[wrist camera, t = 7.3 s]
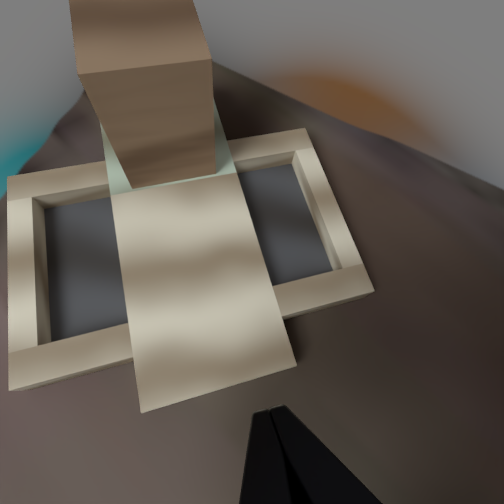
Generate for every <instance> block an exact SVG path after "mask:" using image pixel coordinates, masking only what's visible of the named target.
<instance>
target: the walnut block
mask: <svg viewBox="0 0 504 504" xmlns="http://www.w3.org/2000/svg"><path fill="white" fill-rule="evenodd" d="M69 4H70V13H71V22H72V30H73V39H74V47H75V56H76V65H77V73H78V76H79V78H80V81H81V83H82V85H83V87H84V89H85V91H86V93H87V95H88V97H89V99H90V102H91V104H92V106H93V108H94V110H95V112H96V114H97V116H98V118H99V120H100V123H101V125H102V127H103V129H104V131H105V133H106V135H107V137H108V139H109V141H110V144H111V146H112V148H113V150H114V152H115V154H116V156H117V158H118V160H119V162H120V165H121V167H122V169H123V171H124V173H125V175H126V177H127V179H128V181H129V183H130V186H131V188H132V189H136V188H141V187H147V186H152V185H158V184H163V183H169V182H174V181H180V180H185V179H191V178H196V177H202V176H207V175H213V174H216V158H215V130H214V103H213V75H212V58H211V55H210V52H209V49H208V45H207V42H206V40H205V37H204V33H203V30H202V28H201V25H200V22H199V18H198V15H197V12H196V9H195V6H194V3H193V0H69Z"/></svg>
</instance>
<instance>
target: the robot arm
mask: <svg viewBox="0 0 504 504" xmlns="http://www.w3.org/2000/svg"><path fill="white" fill-rule="evenodd" d="M239 504H382V503H381V502H380V501H379V500H378V499H377V498H376V497H375V496H374V495H373V494H372V493H371V492H370V491H369V490H368V489H367V488H366V486H365V485H364V484H363V483H362V482H361V481H360V480H359V479H358V478H357V477H356V476H355V475H354V474H353V473H352V472H351V471H350V470H349V469H348V468H347V467H346V466H345V465H344V464H343V463H342V462H341V461H340V460H339V459H338V458H337V457H336V456H335V455H334V454H333V453H332V452H331V451H330V450H329V449H328V448H327V447H326V446H325V445H324V444H323V443H322V442H321V441H320V440H319V439H318V438H317V437H316V436H315V435H314V434H313V433H312V432H311V431H310V430H309V429H308V428H307V427H306V426H305V425H304V424H303V423H302V422H301V421H300V420H299V419H298V417H297V416H296V415H295V414H294V413H293V412H292V411H291V410H290V409H289V408H288V407H287V406H285V405H283V404H282V405H278V406H274V407H271V408H270V409H269V410H268V409H262V410H258V411H255V412H253V414H252V418H251V425H250V432H249V439H248V446H247V453H246V459H245V466H244V473H243V480H242V487H241V494H240V500H239Z"/></svg>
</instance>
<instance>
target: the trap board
mask: <svg viewBox="0 0 504 504" xmlns="http://www.w3.org/2000/svg"><path fill="white" fill-rule="evenodd" d="M213 103H214V130H215V158H216V174H213V175H207V176H202V177H196V178H191V179H185V180H180V181H174V182H169V183H163V184H158V185H152V186H147V187H141V188H136V189H132V188H131V186H130V183H129V181H128V179H127V177H126V175H125V173H124V171H123V169H122V167H121V165H120V162H119V160H118V158H117V156H116V154H115V152H114V150H113V148H112V146H111V144H110V141H109V139H108V137H107V135H106V133H105V131H104V129H103V127H102V125H101V131H102V138H103V145H104V153H105V160H106V161H100V162H94V163H88V164H82V165H76V166H70V167H64V168H58V169H52V170H46V171H39V172H33V173H27V174H21V175H15V176H9V177H7V225H8V357H9V391H17V390H31V389H35V388H39V387H42V386H46V385H49V384H53V383H57V382H60V381H64V380H68V379H71V378H75V377H79V376H82V375H86V374H89V373H93V372H97V371H100V370H104V369H108V368H111V367H115V366H119V365H122V364H126V363H129V362H133V361H134V366H135V373H136V381H137V388H138V395H139V402H140V409H141V413H144V412H147V411H150V410H154V409H157V408H160V407H163V406H167V405H170V404H173V403H177V402H180V401H183V400H186V399H190V398H193V397H196V396H200V395H203V394H206V393H209V392H213V391H216V390H219V389H223V388H226V387H229V386H232V385H236V384H239V383H242V382H246V381H249V380H252V379H255V378H259V377H262V376H265V375H269V374H272V373H275V372H278V371H282V370H285V369H288V368H292V367H295V366H297V364H296V361H295V358H294V354H293V351H292V348H291V345H290V342H289V338H288V335H287V332H286V329H285V326H284V322H283V320H286V319H289V318H293V317H297V316H300V315H304V314H308V313H311V312H315V311H318V310H322V309H326V308H329V307H333V306H337V305H340V304H344V303H347V302H351V301H355V300H358V299H362V298H364V297H366V296H367V295H369V294H371V293H372V292H374V291H375V290H374V288H373V286H372V283H371V281H370V279H369V276H368V274H367V272H366V269H365V267H364V265H363V262H362V260H361V258H360V255H359V253H358V251H357V248H356V246H355V244H354V241H353V239H352V236H351V234H350V232H349V229H348V227H347V225H346V222H345V220H344V218H343V215H342V213H341V211H340V208H339V206H338V204H337V201H336V199H335V197H334V194H333V192H332V190H331V187H330V185H329V183H328V180H327V178H326V176H325V173H324V171H323V169H322V166H321V164H320V162H319V159H318V157H317V155H316V152H315V150H314V148H313V145H312V143H311V141H310V138H309V136H308V134H307V131H306V129H305V128H302V129H296V130H289V131H283V132H277V133H271V134H265V135H259V136H253V137H247V138H241V139H235V140H228V141H227V140H226V136H225V133H224V130H223V127H222V124H221V120H220V117H219V114H218V111H217V108H216V104H215V101H214V98H213ZM100 124H101V123H100Z"/></svg>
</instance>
